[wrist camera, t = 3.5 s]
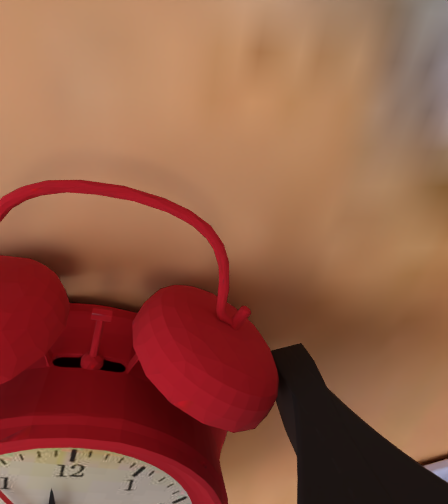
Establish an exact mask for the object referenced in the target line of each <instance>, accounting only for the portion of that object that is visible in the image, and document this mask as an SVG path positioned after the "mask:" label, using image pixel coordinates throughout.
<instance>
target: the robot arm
mask: <svg viewBox="0 0 448 504" xmlns="http://www.w3.org/2000/svg"><path fill="white" fill-rule="evenodd" d="M271 353H272V356H273V359H274V362H275V365H276V368H277V371H278V377H279V383H278V396H277V398H276V403H277V406H278V409H279V412H280V415H281V418H282V421H283V424H284V427H285V430H286V432H287V435H288V437H289V439H290V442H291V444H292V446H293V448H294V451H295V453H296V455H297V475H298V484H297V504H448V459H445V460H441V461H438V462H434V463H431V464H427V465H424V466H422V465H420V464H419V463H418V462H416V461H415V460H414V459H412V458H411V457H409V456H408V455H407V454H405V453H404V452H402V451H401V450H400V449H398V448H397V447H396V446H394V445H393V444H392V443H391V442H389V441H388V440H387V439H385V438H384V437H383V436H381V435H380V434H379V433H378V432H376V431H375V430H374V429H373V428H372V427H370V426H369V425H368V424H367V423H366V422H364V421H363V420H362V419H361V418H360V417H359V416H357V415H356V414H355V413H354V412H353V411H352V410H351V409H350V408H348V407H347V406H346V405H345V404H344V403H343V402H342V401H341V400H340V399H339V398H338V397H337V396H336V395H335V394H333V393H332V392H331V391H330V390H329V389H328V388H327V387H326V385H325V382H324V380H323V378H322V376H321V374H320V372H319V370H318V368H317V366H316V364H315V362H314V360H313V359H312V357H311V356H310V354H309V353H308V352H307V350H306V349H305V348H304V346H303V345H302V344H301V343H300V344H296V345H292V346H288V347H284V348H280V349H276V350H272V351H271Z"/></svg>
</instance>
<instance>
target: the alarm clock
mask: <svg viewBox="0 0 448 504" xmlns="http://www.w3.org/2000/svg"><path fill="white" fill-rule="evenodd" d="M65 192H70V193H83V194H96V195H102V196H108V197H113V198H119V199H125V200H130V201H135V202H138V203H141V204H144V205H147V206H150V207H153V208H156V209H159V210H162V211H165V212H168V213H170V214H172V215H174V216H176V217H178V218H180V219H181V220H183V221H185V222H187V223H189V224H190V225H192V226H193V227H195V228H196V229H197V230H198V231H199V232H200V233H201V234H202V235H203V236H204V237H205V238H206V239H207V240H208V242H209V243H210V245H211V246H212V248H213V249H214V252H215V256H216V259H217V262H218V266H219V286H218V296H216V295H214V294H213V293H210V292H208V291H205V290H202V289H199V288H196V287H193V286H185V285H172V286H169V287H165V288H161V289H160V290H158V291H157V292H156V293H155V294H153V295H152V296H151V297H150V298H149V299H148V300H147V301H146V302H145V303H144V304H143V305H142V307H141V308H140V310H139V312H138V313H135V312H130V311H126V310H122V309H117V308H113V307H108V306H101V305H94V304H79V303H69V300H68V297H67V294H66V291H65V289H64V287H63V285H62V283H61V281H60V279H59V278H58V276H57V275H56V273H54V272H53V271H52V270H51V269H49V268H48V267H47V266H45V265H43V264H41V263H40V262H38V261H35V260H32V259H29V258H20V257H12V256H3V255H0V504H228V498H227V493H226V489H225V485H224V481H223V476H222V472H221V467H220V461H219V459H220V453H221V449H222V446H223V443H224V441H225V437H226V434H227V431H230V432H233V433H235V432H240V431H245V430H250V429H255V428H256V427H257V426H258V425H259V423H260V422H261V421H262V420H263V419H264V418H265V417H266V416H267V414H268V413H269V411H270V410H271V408H272V406H273V405H274V402H275V400H276V398H277V396H278V383H279V377H278V371H277V368H276V365H275V362H274V359H273V356H272V353H271V350H270V348H269V346H268V345H267V343H266V342H265V340H264V339H263V337H262V336H261V334H260V333H259V331H258V330H257V329H256V327H255V326H254V325H253V324H252V323H251V322H250V321H249V320H248V319H247V318H248V317H249V316H250V314H251V311H250V309H249V308H248V307H247V306H241V308H240V309H239V310H237V309H236V308H235V307H233V306H232V305H230V304H229V303H227V298H228V293H229V261H228V257H227V254H226V250H225V247H224V244H223V243H222V241H221V240H220V238H219V237H218V235H217V234H216V233H215V231H214V230H213V228H212V227H211V226H210V225H209V224H208V223H206V222H205V221H204V220H202V219H201V218H200V217H198V216H197V215H196V214H194V213H193V212H192V211H190V210H188V209H186V208H184V207H182V206H180V205H178V204H176V203H173V202H171V201H169V200H167V199H165V198H162V197H158V196H155V195H152V194H149V193H145V192H142V191H139V190H136V189H132V188H129V187H126V186H120V185H113V184H106V183H99V182H92V181H85V180H47V181H43V182H38V183H34V184H30V185H26V186H23V187H21V188H18V189H16V190H14V191H13V192H11V193H9V194H7V195H5V196H3V197H2V198H1V199H0V222H1V221H2V219H3V218H4V217H5V216H6V215H7V214H8V212H9V211H10V210H11V209H12V208H13V207H15V206H17V205H19V204H20V203H22V202H24V201H26V200H28V199H31V198H34V197H38V196H41V195H48V194H57V193H65Z"/></svg>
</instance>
